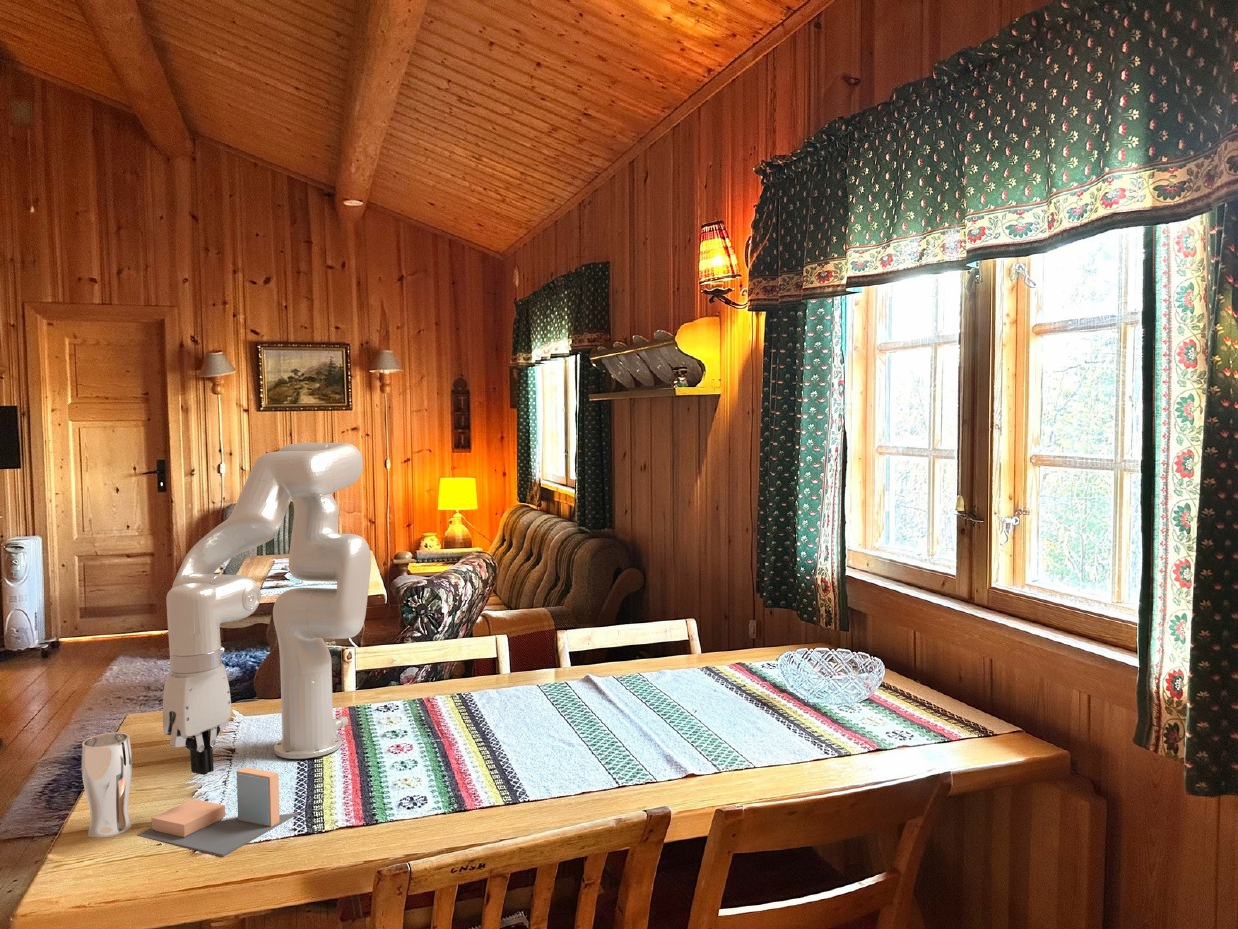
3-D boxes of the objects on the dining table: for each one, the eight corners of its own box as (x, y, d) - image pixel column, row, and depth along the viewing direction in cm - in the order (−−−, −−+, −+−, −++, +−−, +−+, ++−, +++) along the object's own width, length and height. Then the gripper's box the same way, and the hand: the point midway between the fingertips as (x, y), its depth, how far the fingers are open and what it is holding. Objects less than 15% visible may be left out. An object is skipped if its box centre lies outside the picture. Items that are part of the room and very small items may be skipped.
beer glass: (79, 845, 142) (74, 749, 141) (92, 825, 149) (87, 734, 148) (129, 839, 144) (125, 745, 143) (139, 820, 151) (135, 730, 150)
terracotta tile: (193, 799, 153) (151, 818, 145) (225, 805, 150) (184, 825, 142) (193, 811, 153) (152, 831, 145) (225, 818, 150) (184, 838, 143)
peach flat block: (246, 815, 151) (245, 767, 150) (279, 822, 148) (278, 773, 148) (236, 820, 149) (235, 771, 148) (269, 827, 146) (268, 777, 146)
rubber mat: (228, 796, 160) (227, 792, 160) (309, 812, 153) (309, 808, 153) (137, 838, 144) (137, 835, 144) (223, 858, 137) (223, 854, 137)
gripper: (215, 647, 157) (221, 752, 159) (139, 672, 143) (146, 787, 145) (249, 651, 154) (255, 758, 156) (174, 677, 140) (181, 794, 142)
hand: (202, 771), depth 150 cm, fingers closed
